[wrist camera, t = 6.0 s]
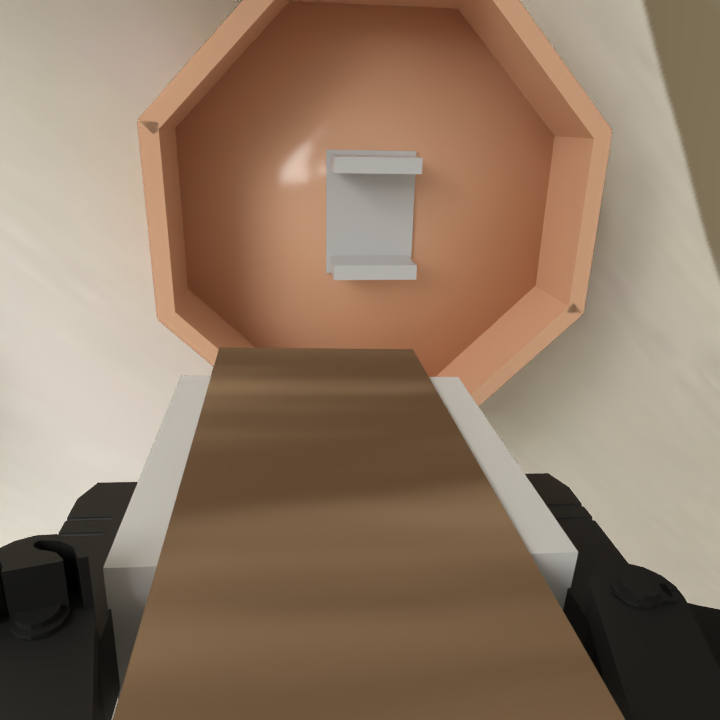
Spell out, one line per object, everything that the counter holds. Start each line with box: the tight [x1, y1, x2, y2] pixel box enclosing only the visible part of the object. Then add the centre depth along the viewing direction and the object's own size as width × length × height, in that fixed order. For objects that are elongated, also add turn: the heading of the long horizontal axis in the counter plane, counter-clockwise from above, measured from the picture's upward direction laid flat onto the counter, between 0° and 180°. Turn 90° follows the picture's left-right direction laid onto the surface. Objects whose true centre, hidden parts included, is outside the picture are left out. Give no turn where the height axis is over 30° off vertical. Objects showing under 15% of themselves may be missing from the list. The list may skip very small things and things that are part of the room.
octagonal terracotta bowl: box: [137, 0, 612, 406], centre depth 29 cm, size 20×20×5 cm
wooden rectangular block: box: [113, 347, 625, 720], centre depth 10 cm, size 3×5×14 cm, turn 87°
